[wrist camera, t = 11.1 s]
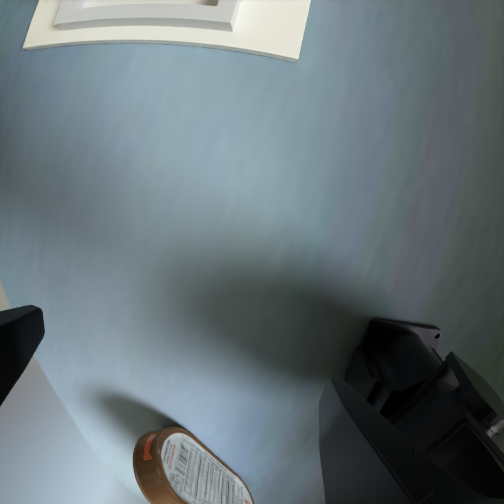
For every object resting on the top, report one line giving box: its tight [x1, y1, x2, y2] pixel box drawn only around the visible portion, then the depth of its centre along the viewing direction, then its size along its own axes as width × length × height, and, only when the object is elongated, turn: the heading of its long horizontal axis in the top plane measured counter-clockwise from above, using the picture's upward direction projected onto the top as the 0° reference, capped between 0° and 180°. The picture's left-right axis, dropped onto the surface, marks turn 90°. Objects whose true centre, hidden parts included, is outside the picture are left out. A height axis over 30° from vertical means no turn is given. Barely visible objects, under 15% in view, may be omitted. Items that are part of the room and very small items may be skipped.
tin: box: [133, 427, 254, 504], centre depth 22 cm, size 15×3×8 cm, turn 31°
